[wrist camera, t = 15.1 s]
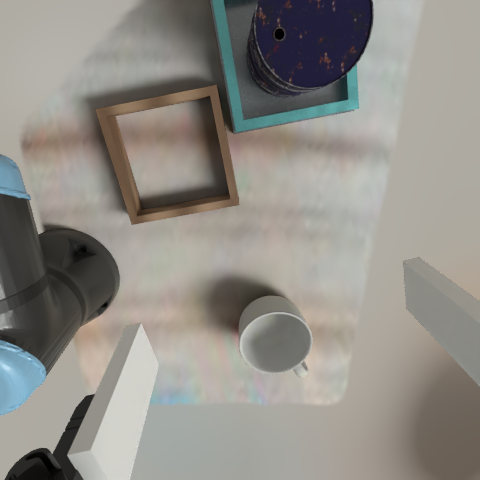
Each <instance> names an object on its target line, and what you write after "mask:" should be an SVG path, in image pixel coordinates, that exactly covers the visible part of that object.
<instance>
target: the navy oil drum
mask: <svg viewBox="0 0 480 480" xmlns="http://www.w3.org/2000/svg"><path fill="white" fill-rule="evenodd" d="M373 17H374V15H373V1H372V0H258V2H257V4H256V7H255V10H254V14H253V17H252V22H251V27H250V33H249V36H248V42H247V63H248V68H249V71H250V74H251V76H252V78H253V80H254V81H255V82H256V84H257V85H258V86H259V87H260V88H261V89H262V90H264V91H265V92H266V93H268V94H270V95H273V96H276V97H294V96H299V95H302V94H304V93H308V92H312V91H315V90H318V89H321V88H324V87H326V86H328V85H330V84H333V83H334V82H336V81H338V80H340V79H341V78H342V77H344V76H345V75H346V74H347V73H349V72H350V71H351V70H352V68H353V67H354V66H355V65H356V64H357V62H358V61H359V60H360V58H361V57H362V55H363V53H364V51H365V49H366V47H367V44H368V42H369V39H370V36H371V31H372V27H373Z"/></svg>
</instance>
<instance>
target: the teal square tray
mask: <svg viewBox="0 0 480 480" xmlns="http://www.w3.org/2000/svg"><path fill="white" fill-rule="evenodd" d="M257 2H258V0H210V4H211V10H212V16H213V21H214V27H215V32H216V38H217V43H218V49H219V54H220V60H221V65H222V71H223V76H224V82H225V87H226V93H227V98H228V104H229V109H230V115H231V120H232V126H233V131H234V134H236V133H242V132H247V131H252V130H257V129H262V128H267V127H273V126H278V125H283V124H288V123H293V122H298V121H303V120H309V119H314V118H319V117H324V116H329V115H334V114H340V113H345V112H350V111H354V109H358V108H359V102H358V82H357V64H356V65H355V66H354V67H353V68H352V70H351V71H350V72H349V73H347V74H346V75H345V76H344V77H342V78H341V79H340V80H338V81H336V82H334V83H333V84H330V85H328V86H326V87H324V88H321V89H318V90H315V91H312V92H308V93H304V94H302V95H299V96H294V97H276V96H273V95H270V94H268V93H266V92H265V91H264V90H262V89H261V88H260V87H259V86H258V85H257V84H256V82H255V81H254V80H253V78H252V76H251V74H250V71H249V68H248V63H247V42H248V36H249V33H250V27H251V22H252V17H253V14H254V10H255V7H256V4H257Z"/></svg>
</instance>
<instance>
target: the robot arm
mask: <svg viewBox="0 0 480 480" xmlns="http://www.w3.org/2000/svg"><path fill="white" fill-rule="evenodd" d="M29 200H31V197H30V195H29V194H27V192H26V189H25V185H24V182H23V179H22V176H21V173H20V170H19V168H18V166H17V165H16V163H15V162H13V160H11V159H10V158H8V157H6V156H3V155H1V154H0V416H1V415H5V414H7V413H10V412H12V411H13V410H15V409H17V408H18V407H20V405H22V404H23V403H24V402H25V401H26V400H27V399H28V398H29V397H30V395H31V394H32V393H33V392H34V390H35V389H36V388H37V387H38V386H39V385H41V384H42V383H43V382H44V380H45V378H46V376H47V374H48V373H49V371H50V370H51V369H52V367H53V366H54V364H55V362H56V361H57V360H58V358H59V357H60V355H61V354H62V353H63V351H64V350H65V348H66V347H67V345H68V344H69V342H70V341H71V339H72V338H73V337H74V335H75V334H76V332H77V331H78V329H79V328H80V327H81V326H83V325H85V324H86V323H88V322H90V321H91V320H93V319H95V318H97V317H98V316H100V315H101V314H102V313H103V312H104V311H105V310H106V309H107V308H108V307H109V306H110V304H111V303H112V301H113V300H114V298H115V296H116V294H117V292H118V289H119V283H120V276H119V271H118V267H117V264H116V262H115V260H114V258H113V257H112V255H111V254H110V252H109V251H108V250H107V249H106V248H105V247H104V246H103V245H102V244H101V243H100V242H98V241H97V240H95V239H94V238H92V237H90V236H88V235H86V234H84V233H81V232H78V231H74V230H68V229H55V230H50V231H46V232H43V233H41V234H39V235H38V232H37V228H36V225H35V221H34V217H33V213H32V209H31V206H30V202H29ZM403 265H404V281H405V293H406V294H405V296H406V309H407V310H408V311H409V312H410V313H411V314H412V315H413V316H414V317H415V318H416V319H417V320H418V322H420V324H421V325H422V326H423V327H424V328H425V329H426V330H427V331H428V332H429V333H430V334H431V335H432V336H433V337H434V338H435V340H437V342H438V343H439V344H440V345H441V346H442V347H443V348H444V349H445V350H446V351H447V352H448V353H449V354H450V355H451V356H452V358H453V359H454V360H455V361H456V362H457V363H458V364H459V365H460V366H461V367H462V368H463V369H464V370H465V371H466V372H467V373H468V374H469V376H471V378H472V379H473V380H474V381H475V382H476V383H477V384H478V385H479V386H480V301H478V300H477V299H476V298H474V297H473V296H472V295H470V294H469V293H467V292H466V291H465V290H463V289H462V288H461V287H459V286H458V285H457V284H455V283H454V282H452V281H451V280H450V279H448V278H447V277H446V276H444V275H443V274H441V273H440V272H439V271H437V270H436V269H434V268H433V267H432V266H430V265H429V264H428V263H426V262H425V261H423V260H422V259H421V258H419V257H418V258H414V259H410V260H405V261H403ZM158 367H159V364H158V362H157V360H156V357H155V355H154V352H153V350H152V348H151V345H150V343H149V341H148V338H147V336H146V333H145V331H144V329H143V326H142V324H141V323H138V324H134V325H130V326H126V328H125V330H124V332H123V335H122V337H121V339H120V341H119V343H118V345H117V348H116V350H115V352H114V354H113V356H112V358H111V361H110V363H109V365H108V367H107V369H106V372H105V374H104V376H103V378H102V380H101V382H100V385H99V387H98V389H97V391H96V393H95V394H93V395H88V396H86V397H85V398H84V399H83V400H82V401H81V403H80V404H79V405H78V406H77V407H76V409H75V411H74V413H73V415H72V417H71V419H70V422H69V423H68V425H67V427H66V429H65V432H64V433H63V435H62V436H61V439H60V441H59V443H58V445H57V447H56V449H55V450H54V452H53V454H52V453H51V452H50V451H49V450H48V449H47V448H39V449H36V450H33V451H31V452H30V453H28V454H27V455H25V456H23V457H22V458H21V459H20V460H19V461H18V462H16V463H15V465H14V466H13V467H12V468H11V469H10V471H9V472H8V474H7V476H6V478H5V480H130V476H131V472H132V468H133V464H134V461H135V457H136V453H137V449H138V445H139V441H140V437H141V434H142V430H143V426H144V422H145V418H146V414H147V410H148V406H149V402H150V399H151V395H152V391H153V387H154V383H155V379H156V375H157V371H158Z"/></svg>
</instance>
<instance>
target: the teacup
mask: <svg viewBox="0 0 480 480" xmlns="http://www.w3.org/2000/svg"><path fill="white" fill-rule="evenodd" d="M311 347H312V333H311V330H310V328H309V326H308V325H307V323H306V321H305V319H304V317H303V315H302V314H301V312H300V310H299V309H298V308H297V306H296V305H295V304H294V303H292V302H291V301H289V300H288V299H286V298H283V297H280V296H264V297H261V298H258V299H256V300H254V301H253V302H251V303H250V304H249V305H248V306H247V307H246V308H245V310H244V311H243V313H242V315H241V317H240V321H239V352H240V354H241V357H242V359H243V360H244V362H245V363H246V364H247V365H248V366H249V367H251V368H252V369H253V370H255V371H257V372H260V373H264V374H272V375H273V374H281V373H285V372H287V371H290V370H292V369H293V370H294V372H295V373H296V374H297V376H299V377H304V376H306V375H307V374H308V368H307V365H306V363H305V361H304V360H305V359H306V357H307V356H308V355H309V353H310V350H311Z"/></svg>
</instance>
